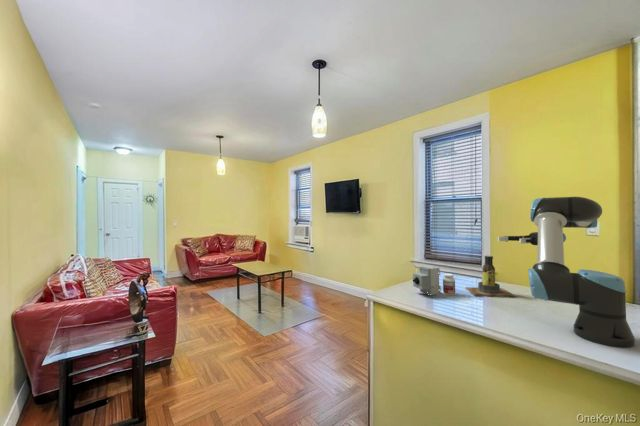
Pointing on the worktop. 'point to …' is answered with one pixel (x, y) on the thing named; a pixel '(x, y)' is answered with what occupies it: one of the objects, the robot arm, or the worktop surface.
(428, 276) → the circuit breaker
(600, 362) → the worktop surface
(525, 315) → the worktop surface
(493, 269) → the sauce bottle
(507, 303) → the worktop surface
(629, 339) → the robot arm
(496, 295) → the bottle holder
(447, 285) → the pill bottle
